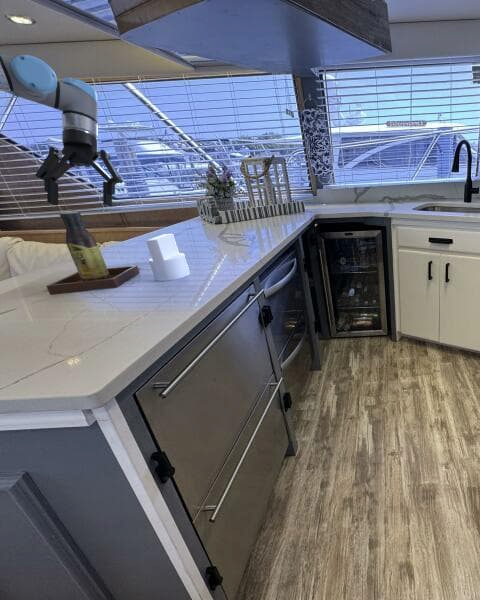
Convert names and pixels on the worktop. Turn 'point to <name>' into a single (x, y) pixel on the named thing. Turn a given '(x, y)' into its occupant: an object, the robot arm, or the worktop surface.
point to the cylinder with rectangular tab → (166, 258)
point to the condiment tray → (76, 283)
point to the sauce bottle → (84, 248)
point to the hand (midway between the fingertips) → (80, 204)
